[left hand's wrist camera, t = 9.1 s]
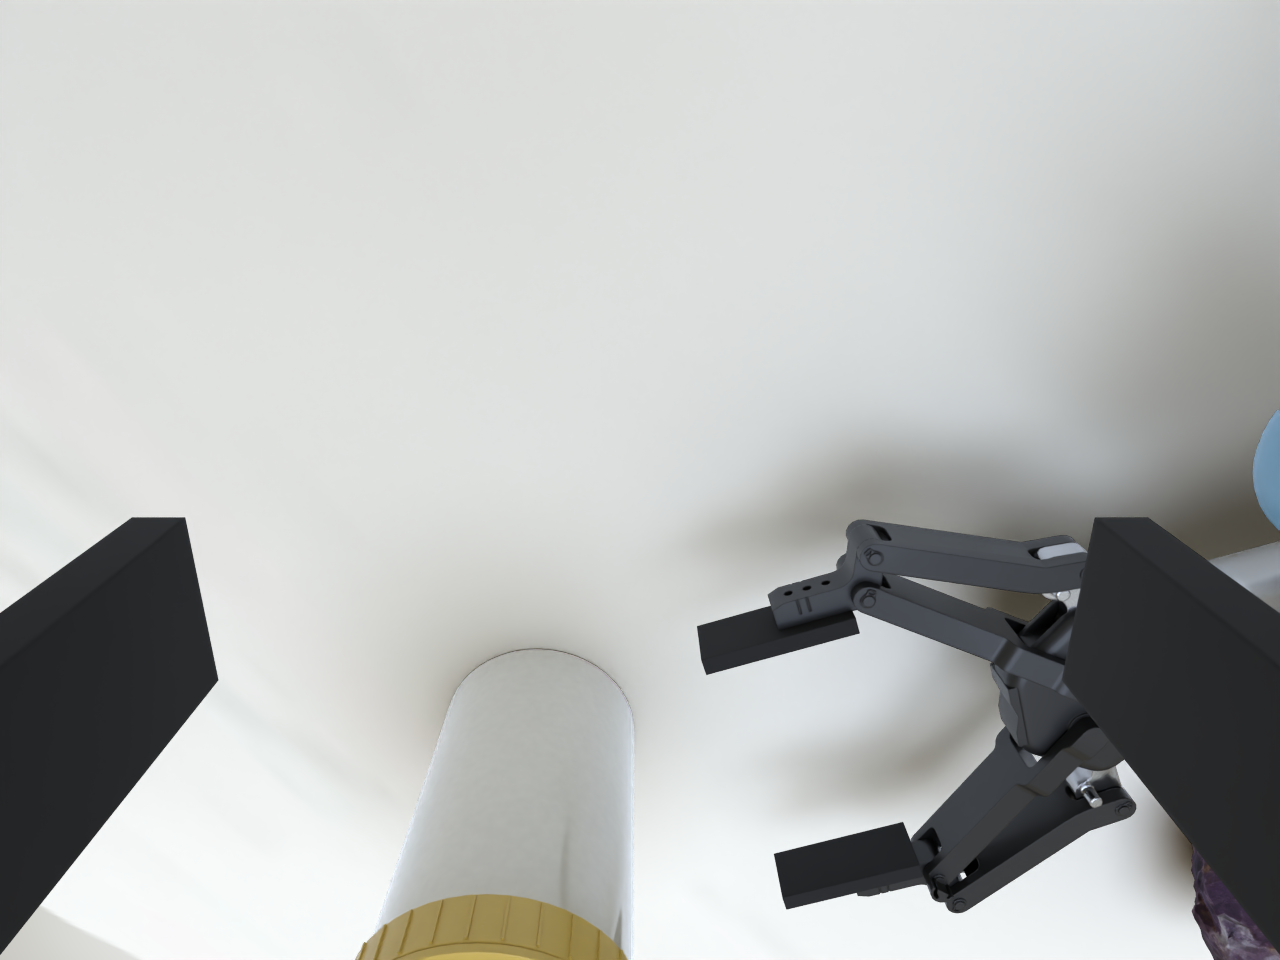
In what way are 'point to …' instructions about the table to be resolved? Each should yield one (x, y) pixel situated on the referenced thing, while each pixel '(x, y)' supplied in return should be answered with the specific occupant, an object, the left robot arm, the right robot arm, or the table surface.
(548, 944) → the lid
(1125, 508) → the table surface
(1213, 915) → the rock
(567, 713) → the jar
